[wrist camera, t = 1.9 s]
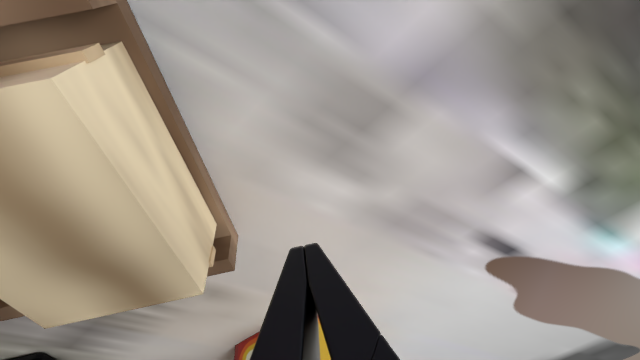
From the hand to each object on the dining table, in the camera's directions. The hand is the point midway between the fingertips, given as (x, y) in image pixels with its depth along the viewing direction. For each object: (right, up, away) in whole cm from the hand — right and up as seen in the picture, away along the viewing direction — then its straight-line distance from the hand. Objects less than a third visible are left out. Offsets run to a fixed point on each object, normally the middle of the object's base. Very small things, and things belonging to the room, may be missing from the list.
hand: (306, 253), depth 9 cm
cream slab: (-11, +3, +6) cm, 13 cm away
